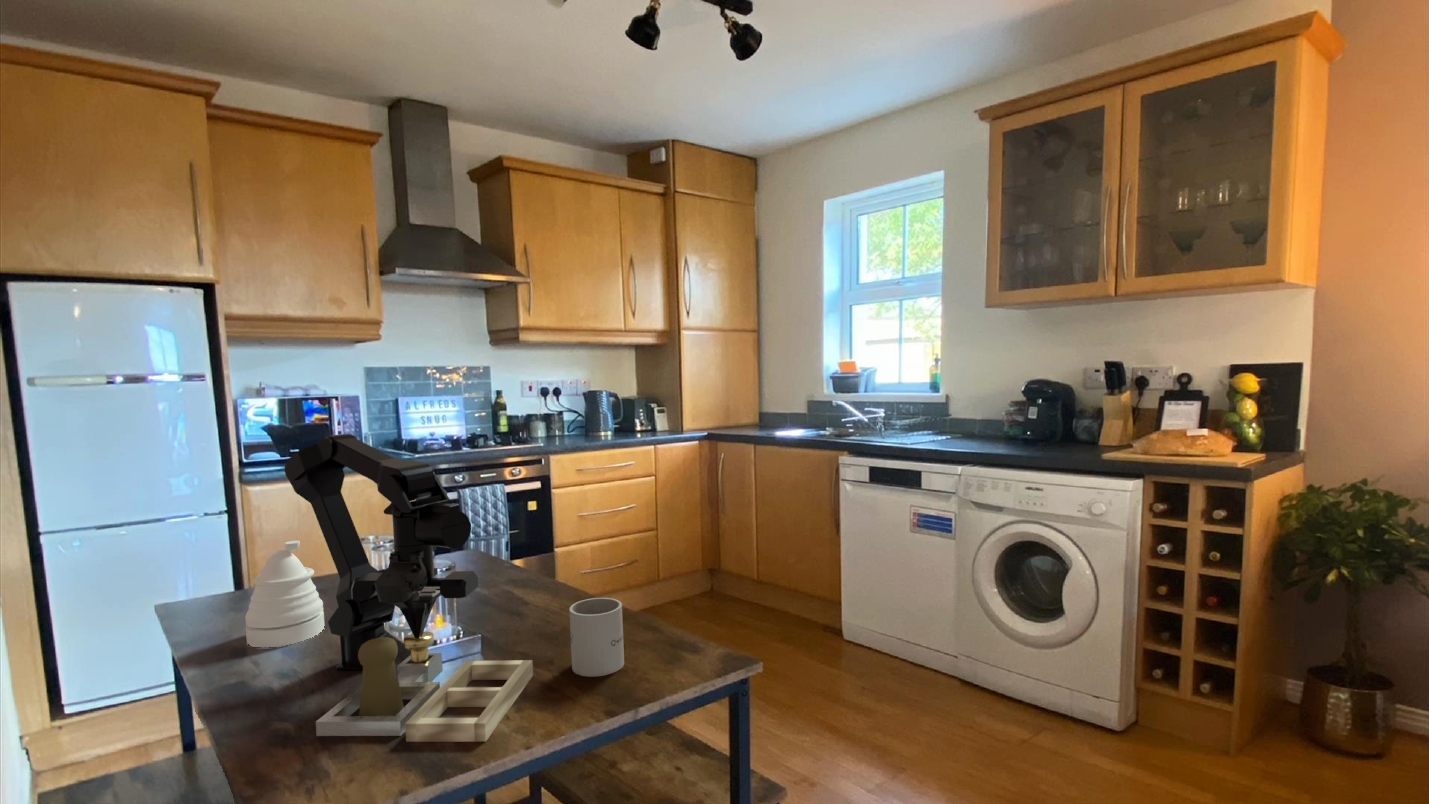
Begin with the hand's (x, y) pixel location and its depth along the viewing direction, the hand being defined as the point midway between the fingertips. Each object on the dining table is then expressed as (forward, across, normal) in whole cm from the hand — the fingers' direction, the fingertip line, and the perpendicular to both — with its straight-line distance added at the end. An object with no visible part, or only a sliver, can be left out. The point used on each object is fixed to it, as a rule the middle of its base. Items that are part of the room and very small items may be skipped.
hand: (418, 636), depth 113 cm
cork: (+7, 0, -12) cm, 14 cm away
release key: (+6, 0, 0) cm, 6 cm away
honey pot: (+7, -36, +19) cm, 41 cm away
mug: (+7, +29, +6) cm, 31 cm away
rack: (+7, +13, -10) cm, 17 cm away
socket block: (+7, 0, -8) cm, 10 cm away
